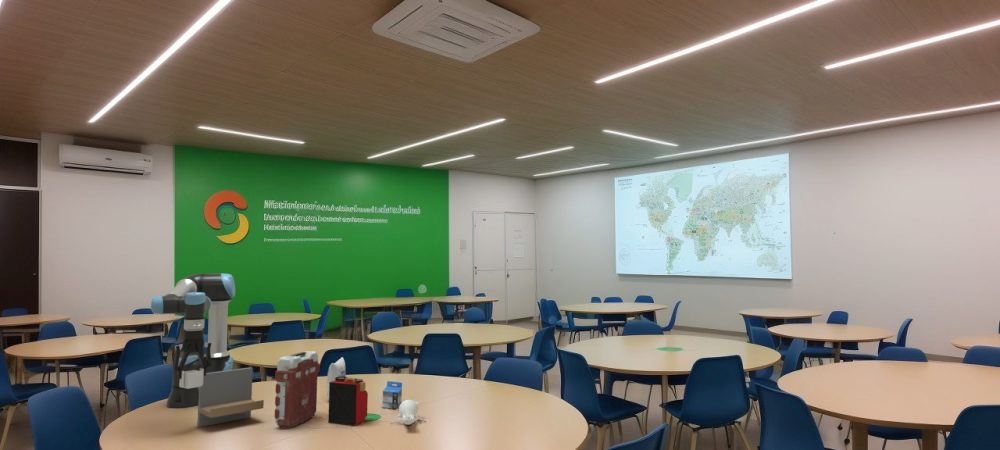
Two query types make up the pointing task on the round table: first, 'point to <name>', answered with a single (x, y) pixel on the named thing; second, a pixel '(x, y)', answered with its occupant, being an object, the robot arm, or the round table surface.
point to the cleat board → (226, 397)
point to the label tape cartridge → (392, 395)
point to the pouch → (335, 372)
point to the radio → (347, 401)
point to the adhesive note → (193, 379)
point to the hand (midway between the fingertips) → (191, 385)
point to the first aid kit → (296, 388)
